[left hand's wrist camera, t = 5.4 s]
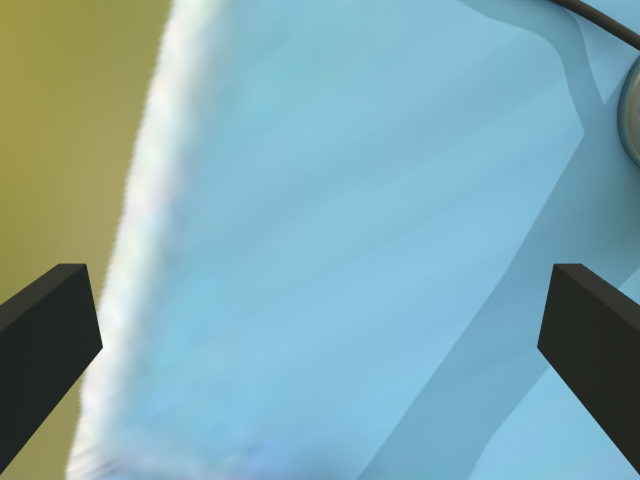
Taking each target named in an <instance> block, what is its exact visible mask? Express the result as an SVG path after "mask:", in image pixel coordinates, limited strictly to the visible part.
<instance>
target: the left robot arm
mask: <svg viewBox="0 0 640 480" xmlns="http://www.w3.org/2000/svg"><path fill="white" fill-rule="evenodd" d="M550 1H552V2H554V3H556V4H559V5H561V6H563V7H565V8H567V9H569V10H571V11H573V12H575V13H577V14H579V15H581V16H582V17H584V18H586V19H588V20H589V21H591V22H593V23H595V24H596V25H598V26H600V27H601V28H603V29H604V30H606V31H608V32H609V33H611V34H613V35H614V36H616V37H618V38H619V39H621V40H623V41H624V42H626V43H628V44H629V45H631V46H633V47H634V48H636V49H637V50H639V51H640V35H638V34H636V33H635V32H633V31H631V30H630V29H628V28H626V27H625V26H623V25H621V24H620V23H618V22H616V21H615V20H613V19H611V18H610V17H608V16H606V15H605V14H603V13H601V12H600V11H598V10H596V9H594V8H593V7H591V6H589V5H587V4H585V3H584V2H582V1H580V0H550ZM618 128H619V133H620V137H621V141H622V144H623V146H624V148H625V150H626V152H627V153H628V155H629V156H630V158H631V159H632V160H633V161H634V162H635V163H636V164H637V165H638V166H639V167H640V57H639V58H638V60H637V61H636V63H635V64H634V66H633V68H632V69H631V71H630V73H629V75H628V77H627V80H626V82H625V85H624V87H623V90H622V93H621V97H620V102H619V109H618ZM102 348H103V345H102V340H101V335H100V330H99V325H98V320H97V315H96V310H95V305H94V300H93V296H92V290H91V285H90V280H89V276H88V271H87V266H86V264H58V265H56V266H55V267H54V268H52V269H51V270H49V271H48V272H47V273H45V274H44V275H42V276H41V277H39V278H38V279H37V280H35V281H34V282H32V283H31V284H30V285H28V286H27V287H25V288H24V289H23V290H21V291H20V292H18V293H17V294H16V295H14V296H13V297H11V298H10V299H9V300H7V301H6V302H4V303H3V304H2V305H0V475H1V474H2V472H3V471H4V470H5V469H6V467H7V466H8V465H9V464H10V462H11V461H12V460H13V459H14V457H15V456H16V455H17V454H18V452H19V451H20V450H21V449H22V448H23V446H24V445H25V444H26V443H27V441H28V440H29V439H30V438H31V436H32V435H33V434H34V433H35V431H36V430H37V429H38V428H39V426H40V425H41V424H42V423H43V421H44V420H45V419H46V418H47V416H48V415H49V414H50V413H51V411H52V410H53V409H54V408H55V406H56V405H57V404H58V403H59V401H60V400H61V399H62V398H63V397H64V395H65V394H66V393H67V392H68V390H69V389H70V388H71V387H72V385H73V384H74V383H75V382H76V380H77V379H78V378H79V377H80V375H81V374H82V373H83V372H84V370H85V369H86V368H87V367H88V366H89V364H90V363H91V362H92V361H93V359H94V358H95V357H96V356H97V354H98V353H99V352H100V351H101V349H102ZM537 348H538V349H539V351H540V352H541V353H542V354H543V356H544V357H545V358H546V359H547V361H548V362H549V363H550V364H551V366H552V367H553V368H554V369H555V370H556V372H557V373H558V374H559V375H560V377H561V378H562V379H563V380H564V382H565V383H566V384H567V385H568V387H569V388H570V389H571V390H572V392H573V393H574V394H575V395H576V397H577V398H578V399H579V400H580V402H581V403H582V404H583V405H584V407H585V408H586V409H587V410H588V411H589V413H590V414H591V415H592V416H593V418H594V419H595V420H596V421H597V423H598V424H599V425H600V426H601V428H602V429H603V430H604V431H605V433H606V434H607V435H608V436H609V438H610V439H611V440H612V441H613V443H614V444H615V445H616V446H617V448H618V449H619V450H620V451H621V453H622V454H623V455H624V456H625V457H626V459H627V460H628V461H629V462H630V464H631V465H632V466H633V467H634V469H635V470H636V471H637V472H638V474H639V475H640V305H639V304H637V303H636V302H634V301H633V300H631V299H630V298H629V297H627V296H626V295H624V294H623V293H622V292H620V291H619V290H617V289H616V288H615V287H613V286H612V285H610V284H609V283H608V282H606V281H605V280H603V279H602V278H601V277H599V276H598V275H596V274H595V273H594V272H592V271H591V270H589V269H588V268H587V267H585V266H584V265H582V264H554V266H553V271H552V275H551V280H550V285H549V290H548V295H547V300H546V305H545V310H544V315H543V320H542V325H541V330H540V335H539V340H538V345H537Z"/></svg>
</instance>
